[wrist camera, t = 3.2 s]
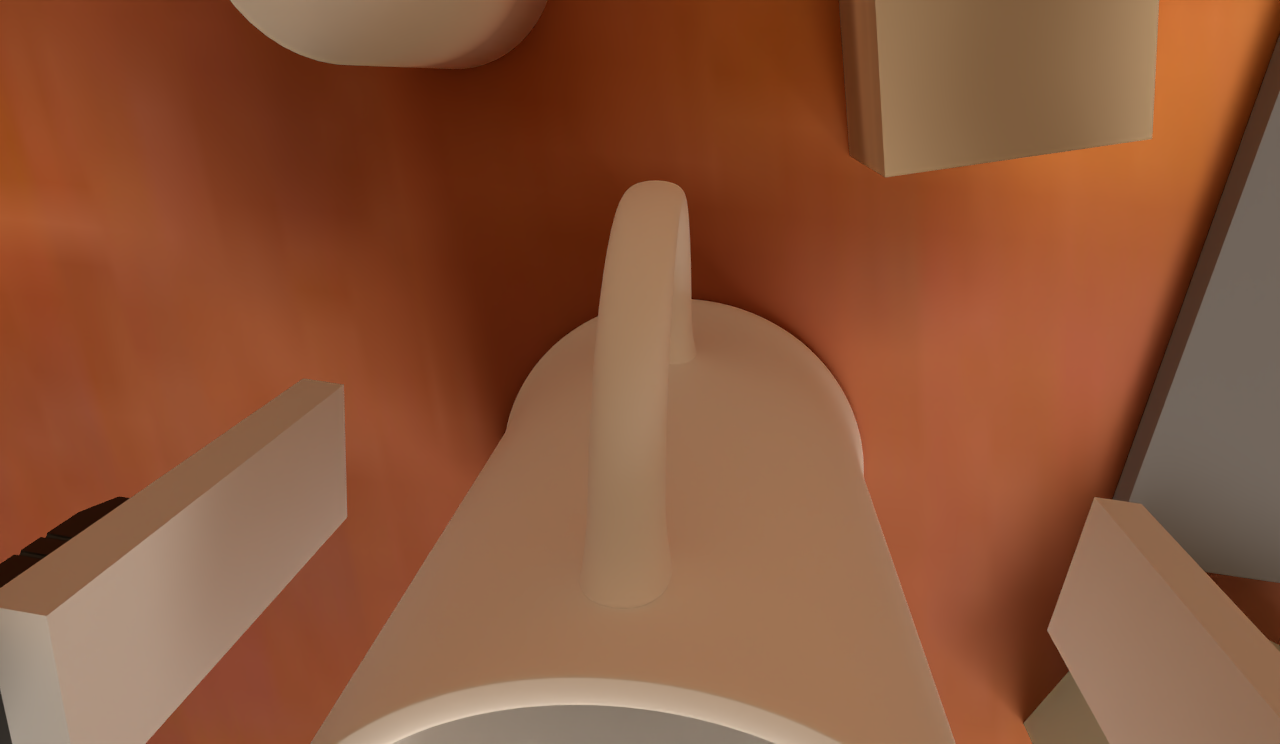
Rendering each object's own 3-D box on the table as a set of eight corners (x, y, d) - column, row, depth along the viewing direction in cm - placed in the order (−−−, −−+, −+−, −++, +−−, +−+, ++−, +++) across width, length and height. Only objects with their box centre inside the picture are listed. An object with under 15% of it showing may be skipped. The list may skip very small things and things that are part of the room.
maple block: (849, 155, 17) (884, 177, 13) (833, -59, 15) (870, -103, 12) (1052, 124, 16) (1152, 139, 12) (1054, -100, 15) (1166, -160, 11)
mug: (514, 128, 17) (108, 222, 6) (922, 165, 17) (1335, 346, 5) (503, 593, 21) (253, 1171, 10) (830, 636, 21) (952, 1300, 9)
